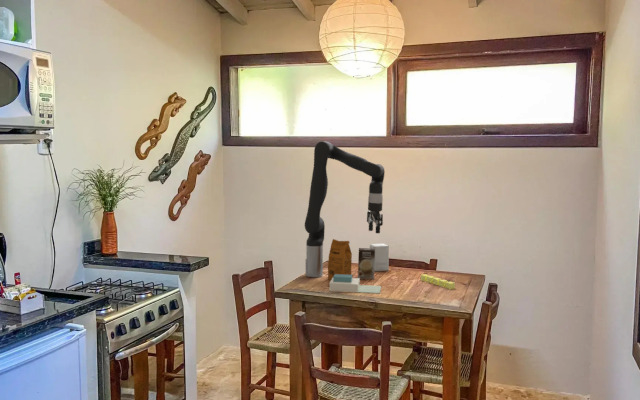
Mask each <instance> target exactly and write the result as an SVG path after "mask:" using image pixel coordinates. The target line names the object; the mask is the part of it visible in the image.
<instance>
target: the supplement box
mask: <svg viewBox="0 0 640 400" xmlns="http://www.w3.org/2000/svg"><path fill="white" fill-rule="evenodd" d="M369 248H370V249H375V265H374V272H383V271H384V272H385V271H387V272H388V271H389V270H390V269H389V266H390V265H389V263H390V262H389V259H390V257H389V253H390V247H389V245H388V244H386V243H369Z"/></svg>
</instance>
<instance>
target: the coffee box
mask: <svg viewBox="0 0 640 400" xmlns="http://www.w3.org/2000/svg"><path fill="white" fill-rule="evenodd" d="M357 259H358V260H357V261H358V264H357V278H360V279H361V280H363V279H364V280H375V271H374V265H375V249H370V247H369V248H365V247H364V248H362V247H359V248H358V258H357Z"/></svg>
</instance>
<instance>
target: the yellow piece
mask: <svg viewBox="0 0 640 400" xmlns="http://www.w3.org/2000/svg"><path fill="white" fill-rule="evenodd" d="M420 281H422V282H426V283H430V284H433V285H434V286H435V285H436V286H439V287H442V288H445V289H449V290H453V289H455V288H456V282H454V281H449V280H446V279H442V278H439V277H436V276H432V275H429V274H426V273H425V274H424V273H423V274H420Z"/></svg>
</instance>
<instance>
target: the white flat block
mask: <svg viewBox="0 0 640 400" xmlns="http://www.w3.org/2000/svg"><path fill="white" fill-rule="evenodd" d="M360 285H361V280H360V278H358V277H352V282H333V278H332V280H329V289H328V290H329V292H343V293H344V292H345V293H358V289H359V286H360Z"/></svg>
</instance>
